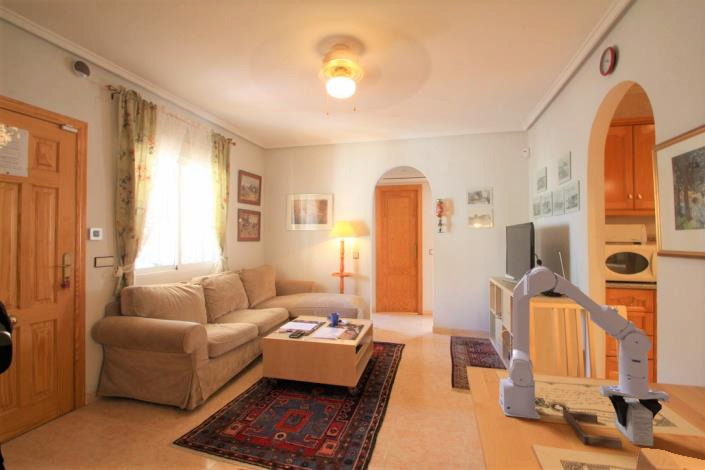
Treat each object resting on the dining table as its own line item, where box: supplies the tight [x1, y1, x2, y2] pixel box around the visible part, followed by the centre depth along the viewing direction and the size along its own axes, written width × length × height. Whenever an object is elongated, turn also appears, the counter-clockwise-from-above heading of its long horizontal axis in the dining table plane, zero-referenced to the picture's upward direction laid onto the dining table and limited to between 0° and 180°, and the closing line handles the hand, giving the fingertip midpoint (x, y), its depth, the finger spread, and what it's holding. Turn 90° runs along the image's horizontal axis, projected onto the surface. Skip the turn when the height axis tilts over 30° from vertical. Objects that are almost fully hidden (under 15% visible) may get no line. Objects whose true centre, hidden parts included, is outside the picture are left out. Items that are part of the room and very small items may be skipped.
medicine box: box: [614, 397, 654, 447], centre depth 82 cm, size 8×4×9 cm, turn 167°
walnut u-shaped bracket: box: [562, 409, 623, 450], centre depth 84 cm, size 8×12×2 cm, turn 167°
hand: (633, 425), depth 82 cm, fingers open, 5 cm apart
